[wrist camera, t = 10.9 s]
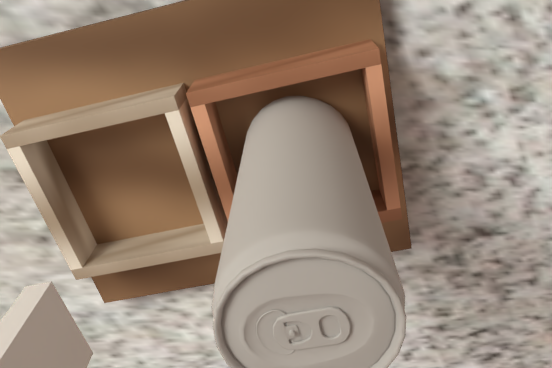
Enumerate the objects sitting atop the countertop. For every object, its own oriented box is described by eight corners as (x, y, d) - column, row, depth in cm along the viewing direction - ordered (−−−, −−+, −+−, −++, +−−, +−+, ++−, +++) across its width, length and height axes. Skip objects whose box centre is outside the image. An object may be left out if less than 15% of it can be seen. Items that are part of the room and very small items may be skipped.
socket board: (-10, 50, 21) (-52, 65, 19) (369, -47, 19) (382, -46, 16) (110, 291, 27) (91, 328, 25) (407, 237, 25) (421, 272, 23)
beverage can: (234, 103, 21) (179, 269, 10) (341, 79, 20) (400, 229, 10) (260, 196, 23) (236, 414, 12) (358, 177, 23) (422, 388, 12)
